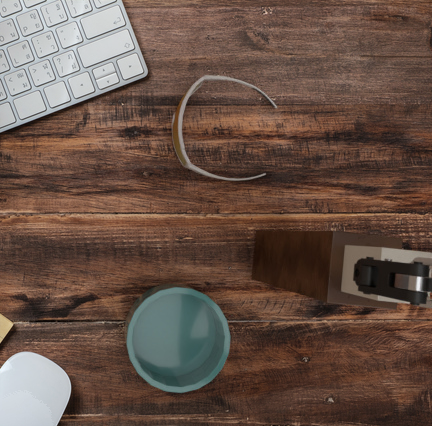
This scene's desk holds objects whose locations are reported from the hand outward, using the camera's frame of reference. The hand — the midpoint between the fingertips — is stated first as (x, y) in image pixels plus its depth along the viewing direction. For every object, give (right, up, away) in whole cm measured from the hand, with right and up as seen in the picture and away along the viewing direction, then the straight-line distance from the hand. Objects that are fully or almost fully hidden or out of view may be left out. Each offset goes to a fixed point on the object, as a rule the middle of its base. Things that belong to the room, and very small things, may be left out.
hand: (409, 277), depth 40 cm
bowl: (-16, -11, +27) cm, 34 cm away
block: (0, 0, +6) cm, 6 cm away
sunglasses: (-9, +17, +29) cm, 35 cm away
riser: (-1, -1, +28) cm, 28 cm away
